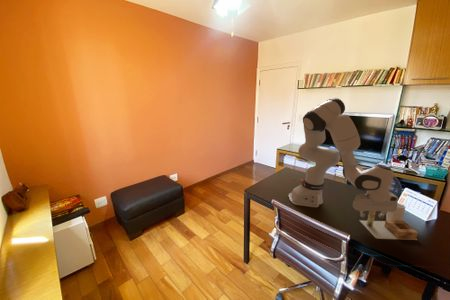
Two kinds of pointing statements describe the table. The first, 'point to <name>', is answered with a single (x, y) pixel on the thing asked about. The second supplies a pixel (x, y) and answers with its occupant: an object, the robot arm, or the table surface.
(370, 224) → the wooden peg
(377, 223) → the mat
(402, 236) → the square wooden tray
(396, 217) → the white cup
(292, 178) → the table surface
